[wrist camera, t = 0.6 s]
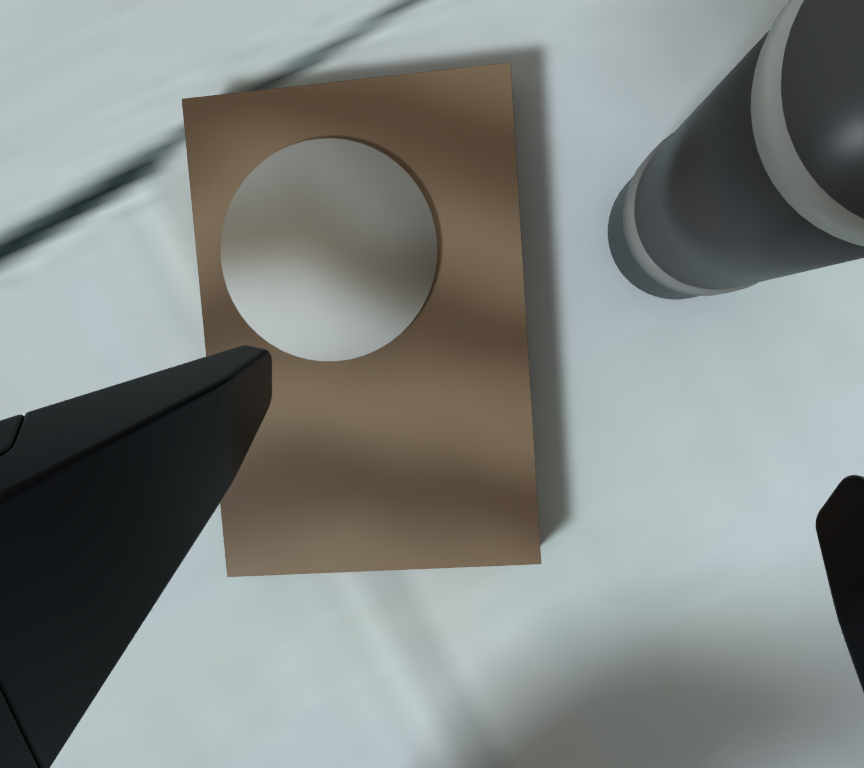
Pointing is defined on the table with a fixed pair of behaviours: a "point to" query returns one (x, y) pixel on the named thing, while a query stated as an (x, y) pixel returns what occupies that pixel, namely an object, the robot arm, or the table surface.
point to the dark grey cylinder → (757, 167)
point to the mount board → (371, 319)
